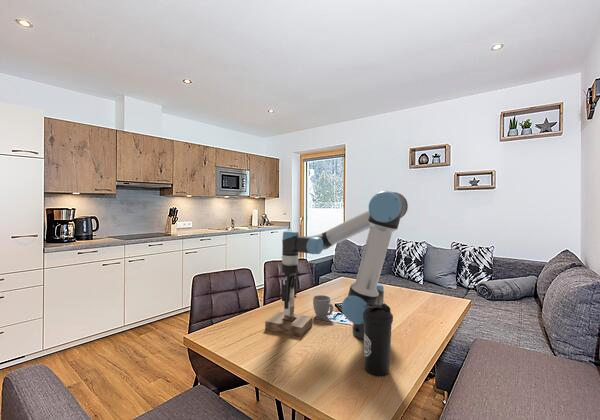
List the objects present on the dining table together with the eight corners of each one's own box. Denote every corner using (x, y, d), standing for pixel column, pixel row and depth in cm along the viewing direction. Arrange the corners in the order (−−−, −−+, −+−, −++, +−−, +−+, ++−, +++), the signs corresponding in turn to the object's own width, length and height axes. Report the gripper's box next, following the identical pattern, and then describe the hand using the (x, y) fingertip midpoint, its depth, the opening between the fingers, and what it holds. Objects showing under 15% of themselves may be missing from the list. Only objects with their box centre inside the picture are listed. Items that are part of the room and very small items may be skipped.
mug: (309, 315, 156) (309, 297, 156) (321, 311, 162) (321, 294, 162) (326, 322, 148) (326, 303, 147) (338, 318, 153) (338, 299, 153)
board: (312, 324, 145) (312, 316, 144) (301, 336, 132) (301, 327, 131) (278, 319, 151) (278, 311, 151) (265, 329, 138) (265, 321, 138)
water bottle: (358, 362, 111) (359, 300, 110) (385, 361, 111) (386, 300, 111) (367, 378, 100) (368, 310, 100) (396, 377, 101) (397, 309, 101)
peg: (295, 320, 143) (295, 287, 142) (291, 324, 138) (291, 289, 138) (286, 319, 144) (287, 286, 144) (282, 322, 140) (283, 288, 140)
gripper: (290, 259, 150) (289, 306, 151) (274, 266, 134) (273, 318, 135) (304, 261, 147) (303, 308, 148) (289, 268, 131) (288, 321, 132)
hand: (289, 313), depth 141 cm, fingers closed on peg, 4 cm apart
